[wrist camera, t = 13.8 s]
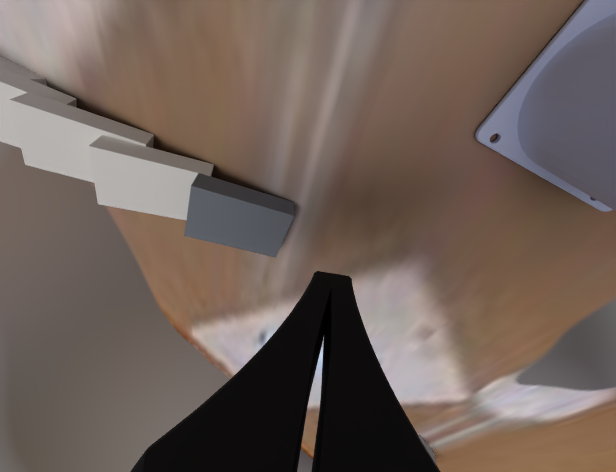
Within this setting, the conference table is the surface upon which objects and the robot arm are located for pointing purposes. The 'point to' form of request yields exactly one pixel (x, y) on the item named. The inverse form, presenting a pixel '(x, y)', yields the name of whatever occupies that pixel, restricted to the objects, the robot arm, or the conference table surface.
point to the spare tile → (237, 216)
